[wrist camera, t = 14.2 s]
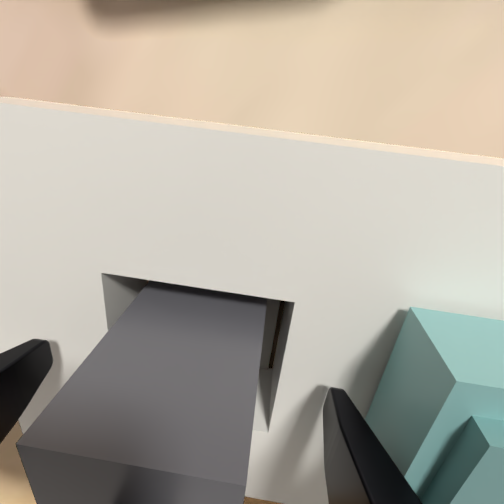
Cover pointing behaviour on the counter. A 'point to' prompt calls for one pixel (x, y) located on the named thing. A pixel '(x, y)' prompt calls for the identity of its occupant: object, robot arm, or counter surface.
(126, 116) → the socket plate
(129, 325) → the plug
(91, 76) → the counter surface
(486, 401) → the block
